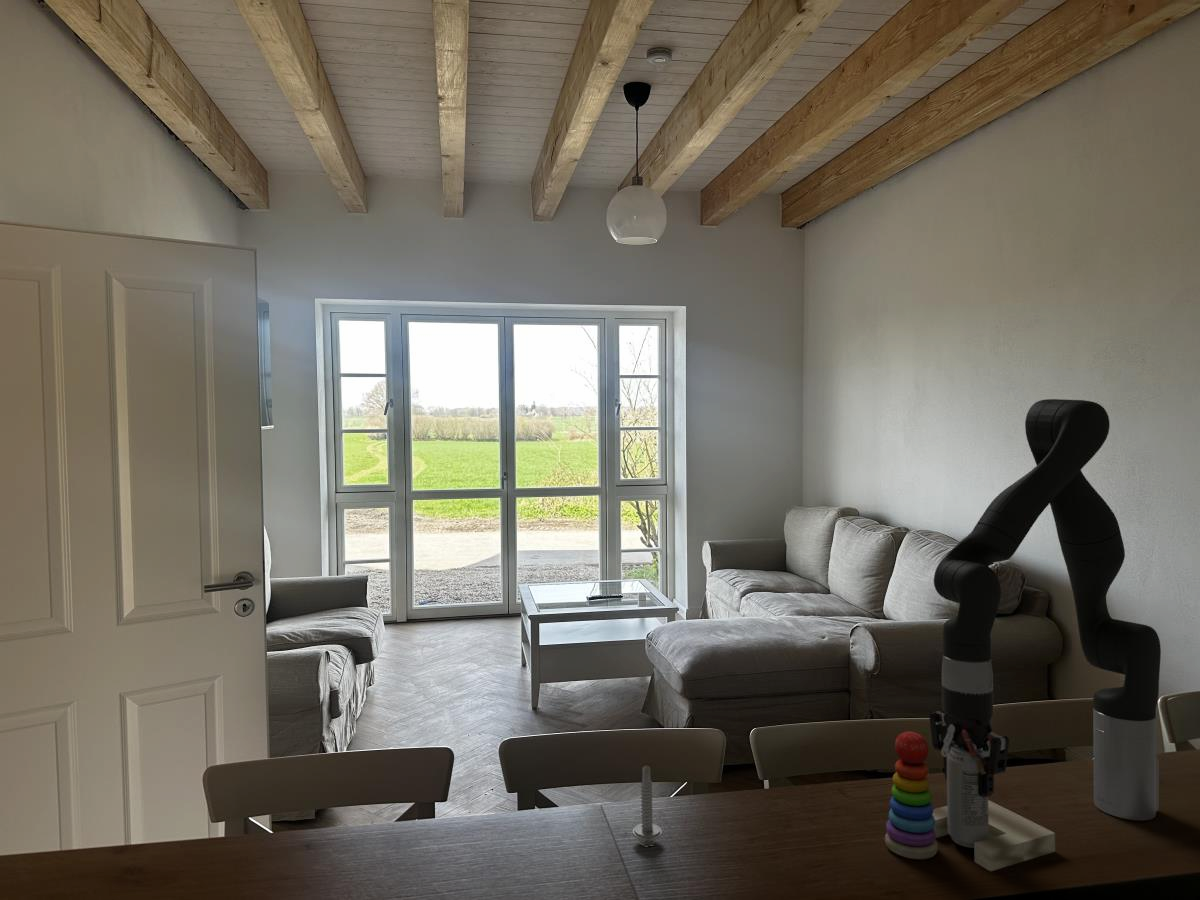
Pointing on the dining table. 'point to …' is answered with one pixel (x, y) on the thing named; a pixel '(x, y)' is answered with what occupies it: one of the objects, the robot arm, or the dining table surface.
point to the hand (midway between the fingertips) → (967, 787)
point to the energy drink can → (965, 799)
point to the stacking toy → (911, 801)
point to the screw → (646, 813)
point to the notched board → (1004, 838)
